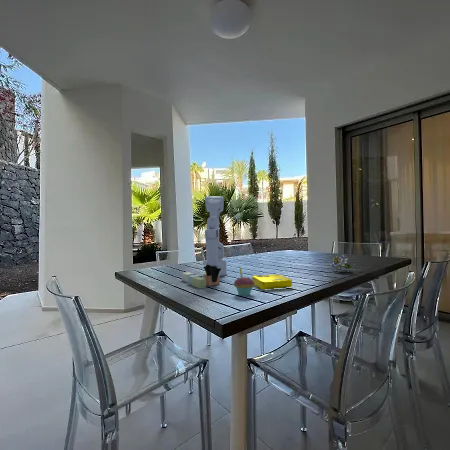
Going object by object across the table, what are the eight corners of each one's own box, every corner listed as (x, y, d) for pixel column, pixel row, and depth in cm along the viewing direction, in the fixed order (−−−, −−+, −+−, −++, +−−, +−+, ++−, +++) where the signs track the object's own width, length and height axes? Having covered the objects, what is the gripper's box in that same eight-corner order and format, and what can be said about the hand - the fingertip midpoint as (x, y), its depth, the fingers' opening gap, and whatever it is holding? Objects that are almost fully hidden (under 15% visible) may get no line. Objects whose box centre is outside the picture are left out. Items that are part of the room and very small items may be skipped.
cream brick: (203, 279, 154) (203, 272, 154) (209, 279, 154) (209, 271, 154) (203, 282, 148) (203, 274, 148) (210, 282, 148) (210, 274, 148)
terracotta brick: (215, 282, 145) (215, 274, 145) (219, 284, 142) (219, 275, 142) (205, 284, 142) (205, 276, 142) (208, 285, 139) (208, 277, 139)
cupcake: (240, 298, 117) (240, 268, 117) (230, 293, 125) (230, 265, 124) (258, 295, 121) (258, 266, 121) (247, 291, 129) (247, 263, 128)
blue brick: (198, 282, 147) (197, 274, 147) (202, 283, 145) (202, 275, 145) (188, 284, 143) (188, 276, 143) (192, 285, 141) (192, 277, 140)
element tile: (262, 291, 129) (262, 280, 129) (250, 284, 143) (250, 274, 143) (293, 289, 133) (293, 278, 133) (279, 282, 147) (279, 272, 147)
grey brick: (182, 280, 152) (182, 272, 152) (188, 279, 154) (188, 272, 154) (187, 282, 147) (187, 274, 147) (193, 281, 149) (193, 273, 149)
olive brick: (192, 286, 139) (192, 277, 139) (198, 285, 141) (198, 276, 141) (199, 288, 134) (199, 279, 134) (206, 287, 136) (205, 278, 136)
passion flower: (335, 280, 174) (324, 263, 179) (347, 275, 179) (336, 258, 184) (348, 272, 165) (335, 254, 170) (360, 267, 170) (348, 250, 175)
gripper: (197, 252, 146) (197, 279, 146) (212, 255, 134) (213, 285, 134) (209, 251, 150) (210, 278, 150) (225, 254, 138) (225, 283, 138)
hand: (212, 281), depth 142 cm, fingers closed on terracotta brick, 3 cm apart
